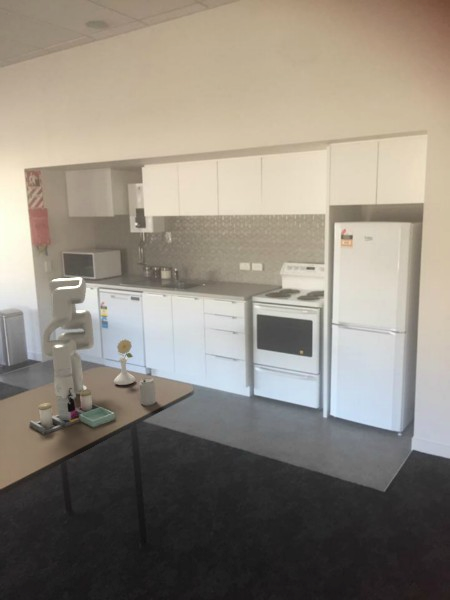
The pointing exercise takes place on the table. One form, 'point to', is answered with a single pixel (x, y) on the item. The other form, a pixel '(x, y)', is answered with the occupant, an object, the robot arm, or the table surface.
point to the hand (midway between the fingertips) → (66, 408)
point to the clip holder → (58, 422)
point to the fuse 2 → (86, 400)
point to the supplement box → (65, 410)
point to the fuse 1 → (46, 415)
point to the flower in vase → (124, 364)
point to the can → (147, 391)
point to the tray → (97, 417)
